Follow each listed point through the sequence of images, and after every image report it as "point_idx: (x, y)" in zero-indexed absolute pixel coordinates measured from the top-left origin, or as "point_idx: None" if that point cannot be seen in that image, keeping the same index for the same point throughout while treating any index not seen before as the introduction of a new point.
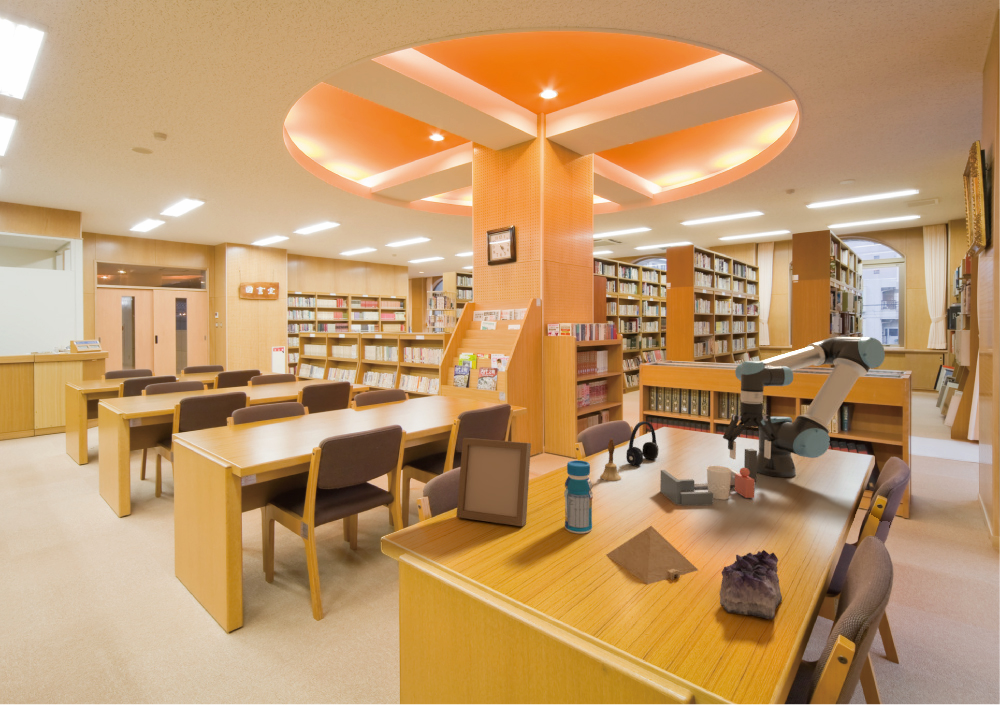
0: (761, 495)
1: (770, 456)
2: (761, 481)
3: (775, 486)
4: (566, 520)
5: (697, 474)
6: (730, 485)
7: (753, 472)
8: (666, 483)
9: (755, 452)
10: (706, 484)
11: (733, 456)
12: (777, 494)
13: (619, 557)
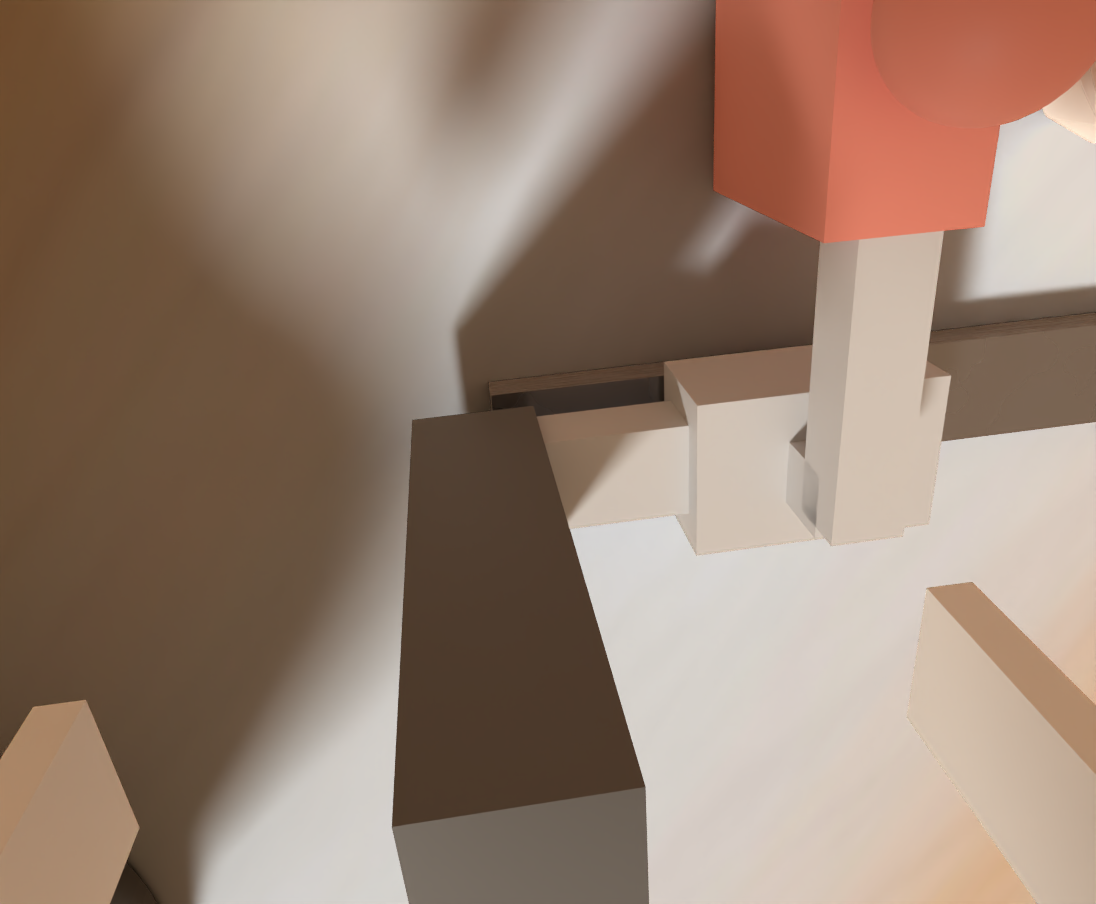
0: (503, 36)
1: (5, 751)
2: (234, 622)
3: (115, 445)
4: None
5: (862, 778)
6: None
7: (467, 485)
8: None
9: (443, 773)
10: (1068, 393)
11: (1009, 626)
12: (225, 84)
13: None
